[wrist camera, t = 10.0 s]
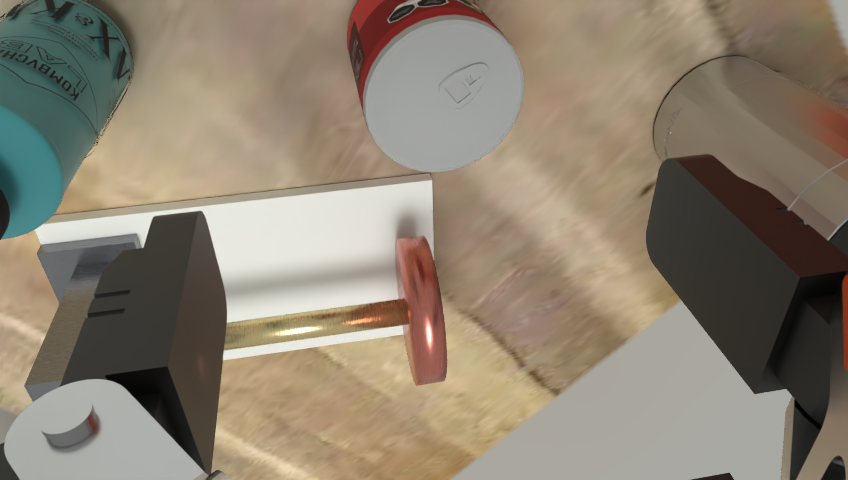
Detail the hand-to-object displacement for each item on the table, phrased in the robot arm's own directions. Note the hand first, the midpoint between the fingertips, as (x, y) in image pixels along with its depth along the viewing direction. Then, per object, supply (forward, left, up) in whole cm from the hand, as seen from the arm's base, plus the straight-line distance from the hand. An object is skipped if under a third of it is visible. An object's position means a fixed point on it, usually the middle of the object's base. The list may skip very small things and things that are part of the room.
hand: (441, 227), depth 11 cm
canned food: (-4, +6, -30) cm, 31 cm away
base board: (+8, +23, -30) cm, 39 cm away
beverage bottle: (+15, +5, -30) cm, 34 cm away
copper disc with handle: (+5, +23, -29) cm, 37 cm away
